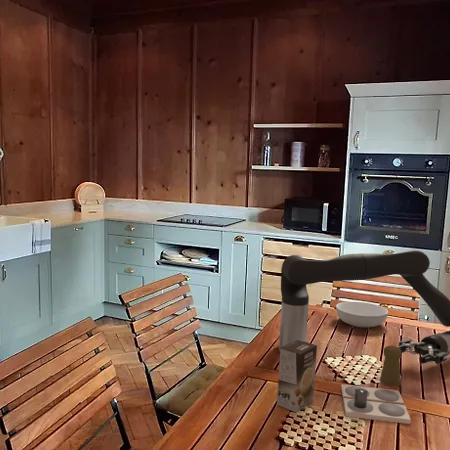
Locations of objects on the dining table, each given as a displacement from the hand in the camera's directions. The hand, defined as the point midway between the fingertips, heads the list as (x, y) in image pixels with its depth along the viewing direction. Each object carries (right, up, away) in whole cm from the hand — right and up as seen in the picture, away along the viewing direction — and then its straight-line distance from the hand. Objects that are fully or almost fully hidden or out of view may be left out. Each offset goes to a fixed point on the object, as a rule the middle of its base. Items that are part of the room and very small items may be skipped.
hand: (409, 355), depth 148 cm
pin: (-22, -7, -22) cm, 32 cm away
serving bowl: (-1, -1, +49) cm, 49 cm away
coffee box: (-38, -8, -19) cm, 44 cm away
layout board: (-17, -8, -19) cm, 27 cm away
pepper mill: (-7, -7, -4) cm, 11 cm away
